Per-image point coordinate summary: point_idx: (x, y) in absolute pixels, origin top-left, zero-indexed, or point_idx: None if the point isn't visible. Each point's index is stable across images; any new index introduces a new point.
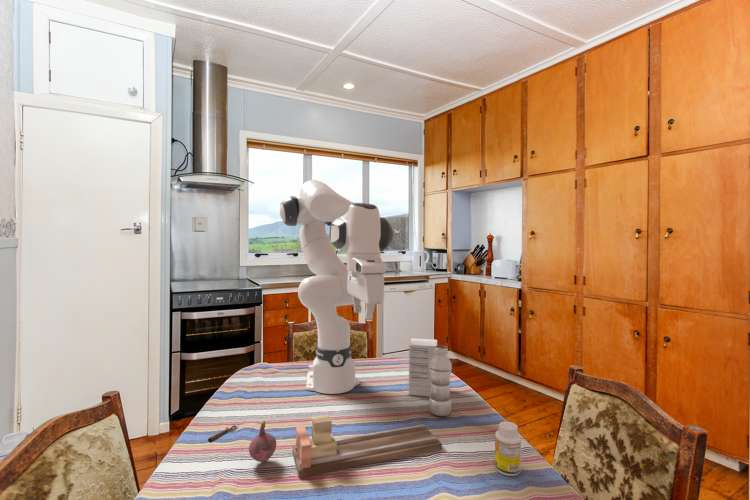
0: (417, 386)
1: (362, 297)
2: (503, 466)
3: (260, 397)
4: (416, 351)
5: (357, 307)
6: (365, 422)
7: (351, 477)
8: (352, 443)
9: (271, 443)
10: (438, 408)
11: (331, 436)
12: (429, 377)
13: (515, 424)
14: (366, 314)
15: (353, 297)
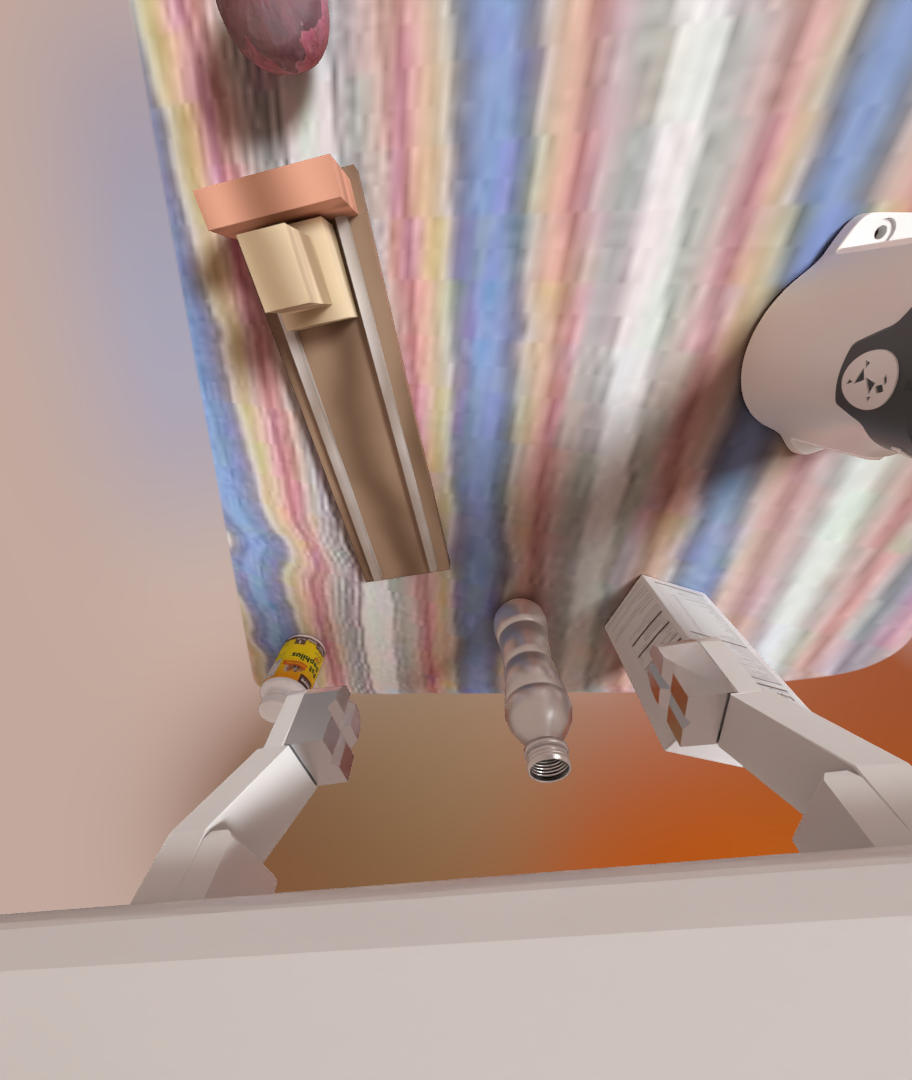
0: (637, 608)
1: (125, 998)
2: (283, 647)
3: None
4: None
5: (680, 705)
6: (513, 435)
7: (253, 366)
8: (370, 383)
9: (241, 35)
10: (498, 619)
11: (326, 315)
12: (631, 652)
13: None
14: (269, 735)
15: (871, 812)
